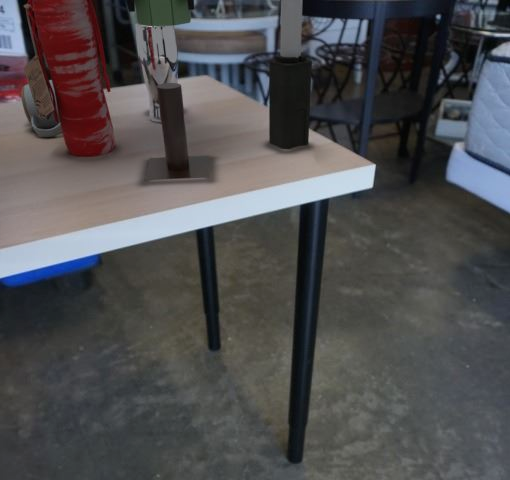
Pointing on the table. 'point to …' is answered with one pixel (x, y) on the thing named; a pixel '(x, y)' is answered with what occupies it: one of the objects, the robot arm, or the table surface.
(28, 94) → the ceramic mug
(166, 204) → the table surface
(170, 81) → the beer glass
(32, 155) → the table surface
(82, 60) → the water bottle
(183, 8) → the green ring
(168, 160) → the walnut peg
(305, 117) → the candle
